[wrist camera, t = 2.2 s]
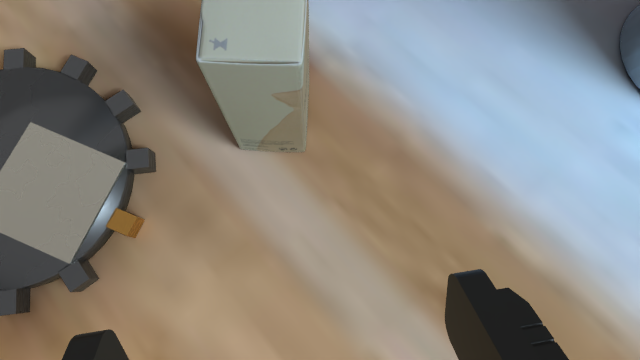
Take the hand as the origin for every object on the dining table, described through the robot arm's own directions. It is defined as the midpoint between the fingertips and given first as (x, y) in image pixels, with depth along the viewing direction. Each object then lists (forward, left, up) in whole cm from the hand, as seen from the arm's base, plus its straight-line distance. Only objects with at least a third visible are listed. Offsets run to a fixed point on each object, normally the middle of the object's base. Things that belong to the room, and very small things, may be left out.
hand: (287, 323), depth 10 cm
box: (-10, -6, -16) cm, 19 cm away
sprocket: (0, -19, -15) cm, 24 cm away
